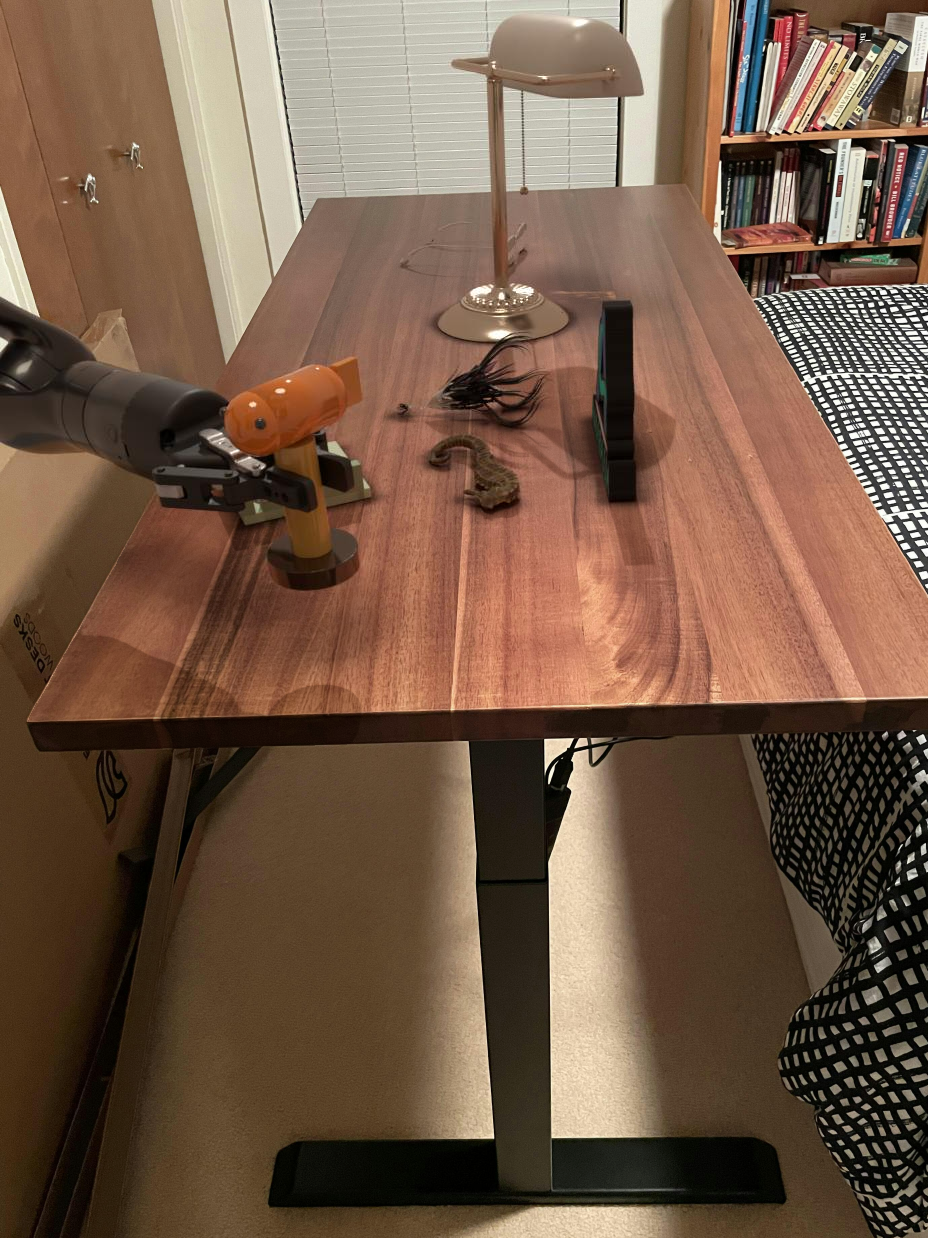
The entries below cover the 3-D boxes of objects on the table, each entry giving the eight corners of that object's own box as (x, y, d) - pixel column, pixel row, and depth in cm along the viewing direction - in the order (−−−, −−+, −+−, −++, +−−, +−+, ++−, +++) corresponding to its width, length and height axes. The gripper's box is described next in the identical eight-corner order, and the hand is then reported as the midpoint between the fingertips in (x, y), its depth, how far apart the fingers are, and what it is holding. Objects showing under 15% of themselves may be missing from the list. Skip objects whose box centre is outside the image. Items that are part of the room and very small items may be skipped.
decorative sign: (635, 501, 89) (644, 336, 79) (608, 502, 89) (614, 337, 79) (614, 419, 104) (619, 272, 94) (591, 420, 104) (594, 273, 94)
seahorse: (473, 441, 99) (471, 424, 98) (535, 502, 89) (533, 483, 88) (424, 457, 98) (420, 440, 97) (480, 520, 87) (477, 502, 86)
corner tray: (245, 525, 87) (237, 490, 85) (220, 473, 96) (212, 440, 94) (371, 497, 91) (367, 462, 89) (337, 449, 100) (332, 417, 98)
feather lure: (559, 422, 100) (538, 342, 95) (399, 458, 105) (371, 385, 100) (565, 391, 107) (546, 315, 102) (414, 426, 112) (389, 356, 107)
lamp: (651, 328, 127) (669, 15, 106) (482, 361, 119) (466, 31, 98) (558, 279, 146) (557, 6, 125) (407, 305, 138) (380, 19, 117)
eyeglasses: (507, 270, 151) (506, 243, 148) (397, 266, 155) (394, 240, 152) (528, 245, 163) (528, 219, 160) (426, 242, 166) (424, 217, 164)
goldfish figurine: (345, 519, 74) (318, 341, 66) (408, 541, 71) (389, 357, 63) (235, 582, 67) (190, 392, 59) (300, 610, 64) (262, 413, 56)
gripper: (245, 444, 78) (407, 497, 70) (96, 513, 69) (261, 584, 61) (226, 351, 73) (396, 396, 65) (63, 412, 65) (237, 473, 56)
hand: (330, 486), depth 63 cm, fingers closed on goldfish figurine, 3 cm apart
